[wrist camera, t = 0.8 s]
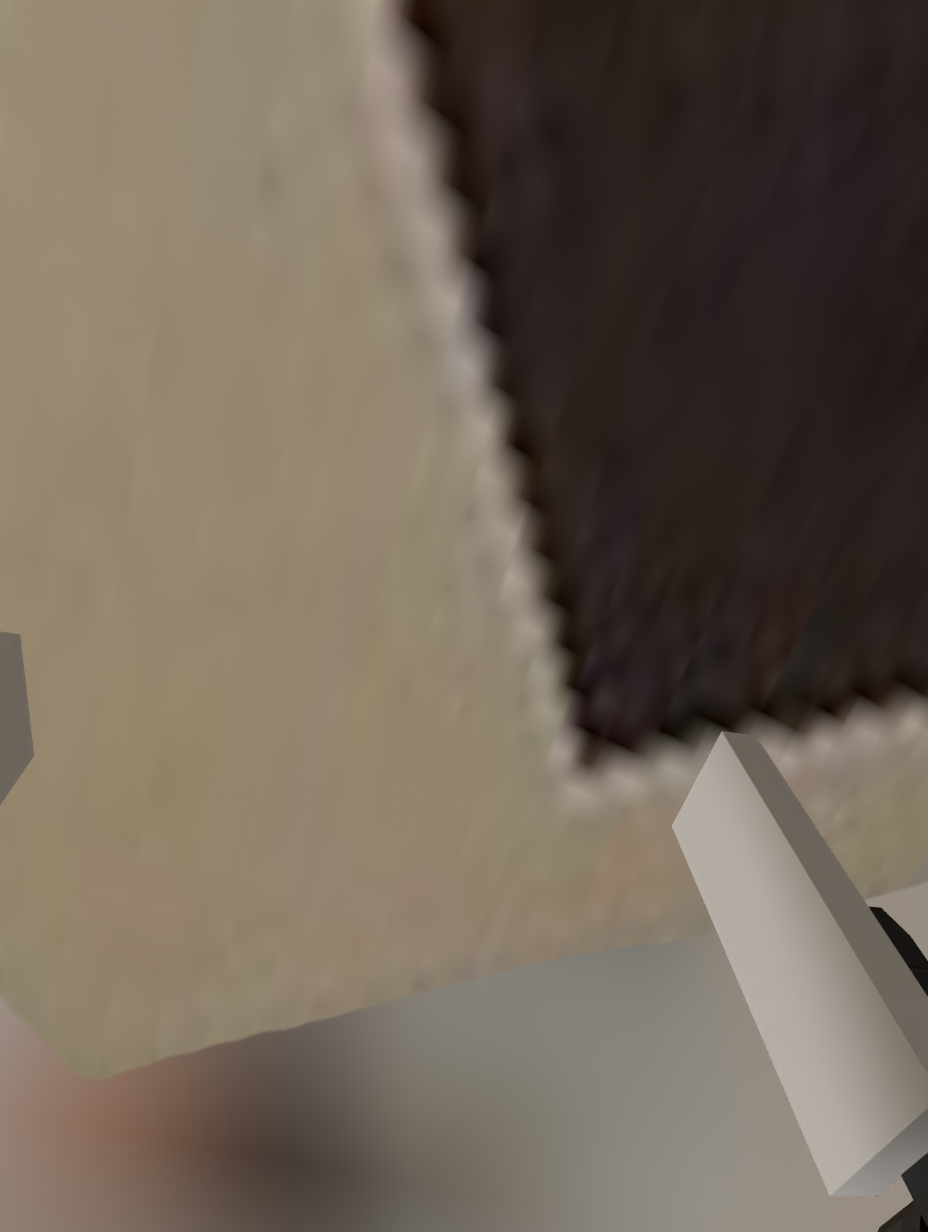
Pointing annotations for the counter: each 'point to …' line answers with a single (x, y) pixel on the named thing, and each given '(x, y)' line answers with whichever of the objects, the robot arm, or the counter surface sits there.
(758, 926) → the robot arm
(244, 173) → the counter surface
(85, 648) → the counter surface
